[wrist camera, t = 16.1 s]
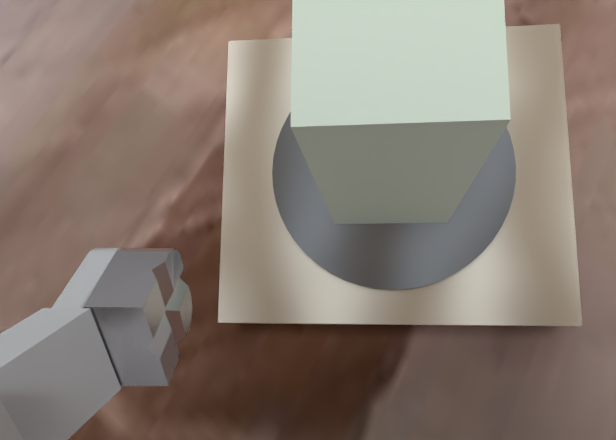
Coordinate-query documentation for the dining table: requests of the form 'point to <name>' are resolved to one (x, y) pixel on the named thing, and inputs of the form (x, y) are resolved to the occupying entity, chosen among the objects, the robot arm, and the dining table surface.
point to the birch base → (399, 236)
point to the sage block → (397, 102)
